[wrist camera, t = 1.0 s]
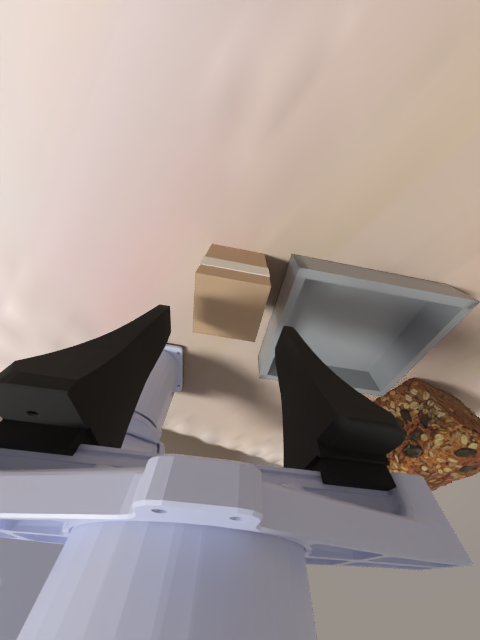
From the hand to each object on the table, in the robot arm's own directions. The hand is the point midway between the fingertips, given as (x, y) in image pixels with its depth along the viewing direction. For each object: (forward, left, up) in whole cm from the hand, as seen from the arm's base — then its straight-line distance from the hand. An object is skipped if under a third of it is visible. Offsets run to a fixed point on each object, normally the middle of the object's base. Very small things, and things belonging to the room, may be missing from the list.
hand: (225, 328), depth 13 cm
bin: (-4, -13, -9) cm, 16 cm away
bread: (-20, -29, -9) cm, 36 cm away
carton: (0, 0, -9) cm, 9 cm away
